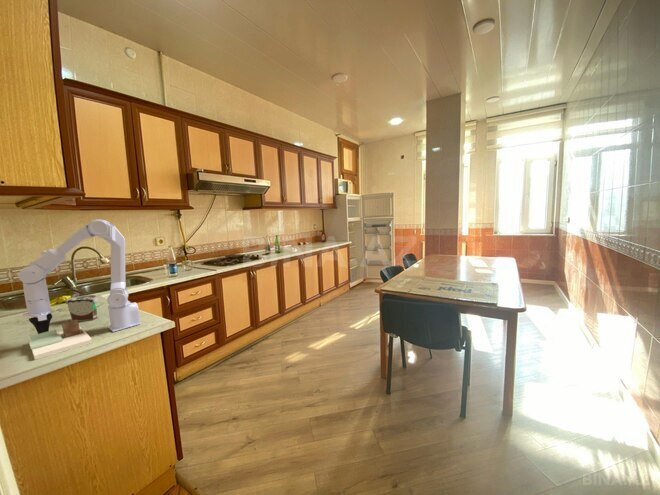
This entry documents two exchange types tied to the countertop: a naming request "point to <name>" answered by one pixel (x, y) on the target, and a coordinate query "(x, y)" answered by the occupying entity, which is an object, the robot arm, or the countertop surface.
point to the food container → (83, 307)
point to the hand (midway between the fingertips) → (43, 335)
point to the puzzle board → (62, 344)
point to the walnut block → (71, 328)
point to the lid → (44, 339)
